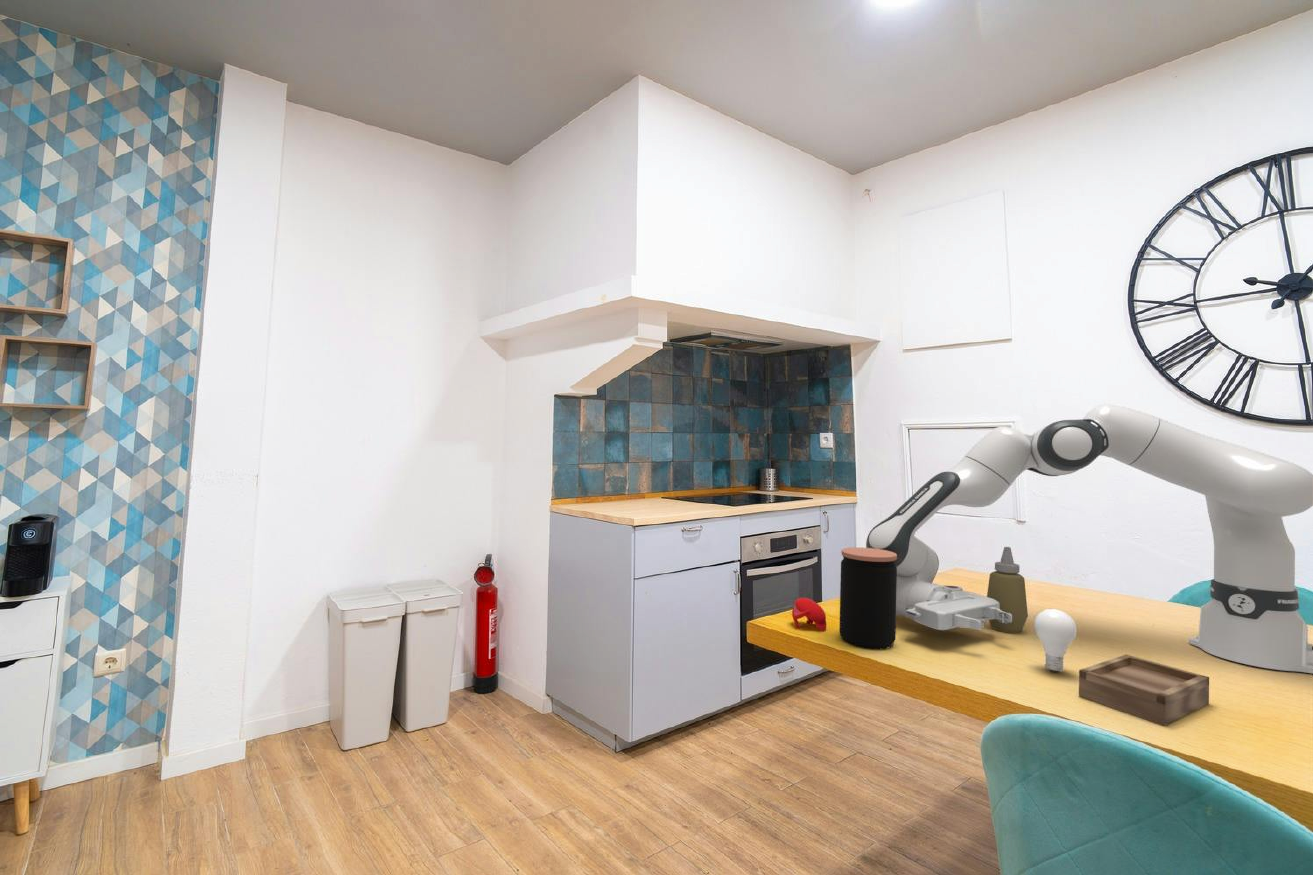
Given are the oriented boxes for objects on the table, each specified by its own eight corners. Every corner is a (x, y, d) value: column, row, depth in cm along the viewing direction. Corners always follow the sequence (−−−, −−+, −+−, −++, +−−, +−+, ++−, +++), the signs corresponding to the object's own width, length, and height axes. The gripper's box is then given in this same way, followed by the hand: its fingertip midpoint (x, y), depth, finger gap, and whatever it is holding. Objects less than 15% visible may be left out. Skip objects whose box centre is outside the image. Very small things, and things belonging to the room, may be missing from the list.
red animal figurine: (782, 610, 126) (801, 602, 122) (794, 597, 131) (813, 588, 127) (805, 642, 125) (825, 634, 121) (816, 627, 129) (836, 619, 125)
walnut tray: (1125, 678, 101) (1125, 654, 101) (1208, 703, 92) (1209, 677, 92) (1078, 696, 93) (1079, 669, 93) (1164, 725, 84) (1165, 696, 84)
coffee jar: (903, 641, 118) (905, 552, 118) (882, 654, 110) (884, 559, 110) (852, 629, 125) (854, 545, 125) (829, 640, 117) (831, 551, 117)
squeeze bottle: (1034, 636, 123) (1035, 551, 123) (992, 633, 125) (994, 549, 125) (1018, 625, 131) (1020, 545, 131) (979, 622, 133) (981, 543, 133)
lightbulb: (1077, 681, 99) (1078, 616, 100) (1033, 672, 103) (1034, 610, 103) (1074, 669, 105) (1075, 608, 105) (1032, 661, 108) (1033, 602, 108)
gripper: (900, 595, 120) (964, 612, 108) (960, 585, 130) (1025, 600, 118) (899, 625, 120) (963, 646, 108) (960, 613, 130) (1024, 631, 118)
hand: (996, 622), depth 113 cm, fingers open, 8 cm apart
